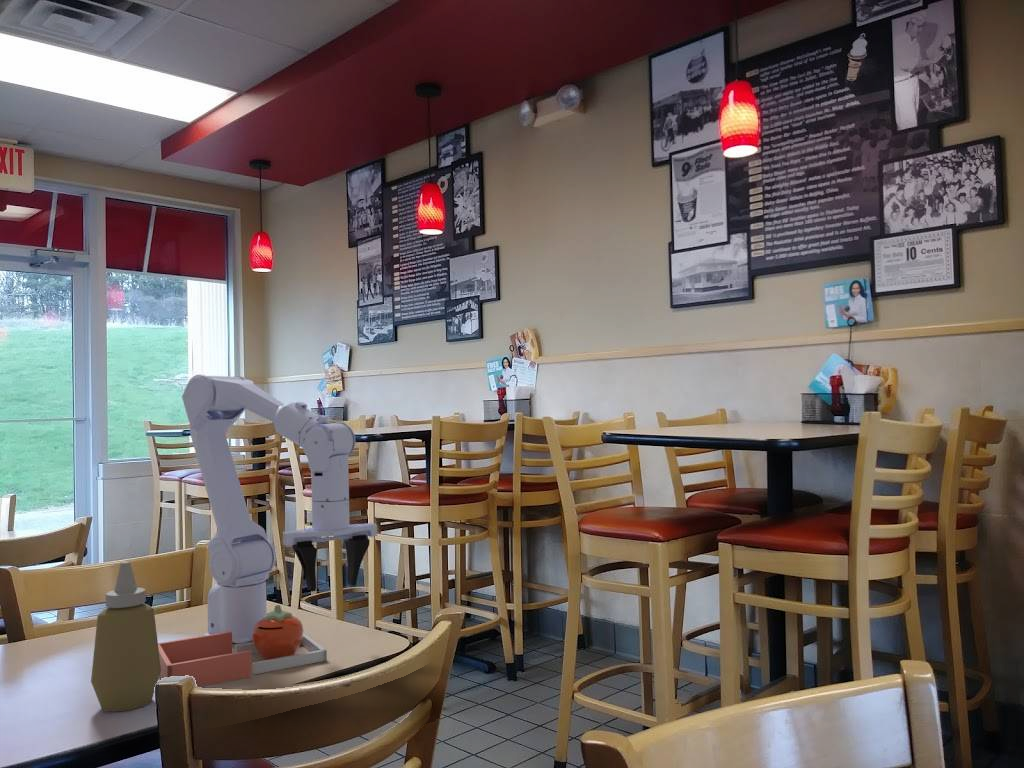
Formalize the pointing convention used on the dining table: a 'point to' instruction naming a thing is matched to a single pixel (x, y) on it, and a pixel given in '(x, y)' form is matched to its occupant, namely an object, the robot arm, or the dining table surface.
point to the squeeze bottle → (125, 647)
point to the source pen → (289, 661)
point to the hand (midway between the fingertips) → (332, 587)
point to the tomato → (277, 634)
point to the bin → (204, 659)
